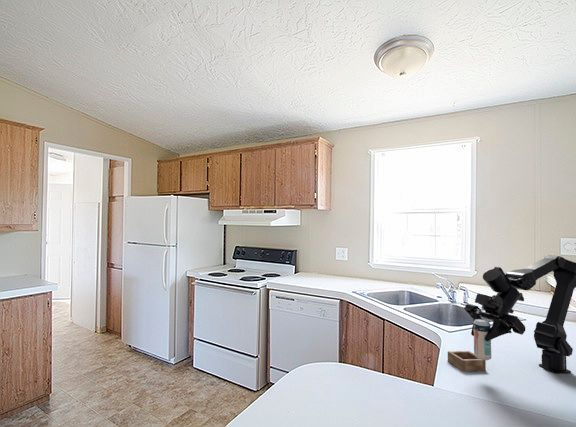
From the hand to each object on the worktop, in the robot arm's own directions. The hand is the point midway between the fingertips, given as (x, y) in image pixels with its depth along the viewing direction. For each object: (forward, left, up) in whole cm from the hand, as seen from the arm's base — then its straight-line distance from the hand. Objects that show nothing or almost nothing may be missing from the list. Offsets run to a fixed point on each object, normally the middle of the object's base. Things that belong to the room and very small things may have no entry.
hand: (478, 337), depth 103 cm
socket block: (-3, -10, -13) cm, 17 cm away
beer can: (-1, 0, -7) cm, 7 cm away
